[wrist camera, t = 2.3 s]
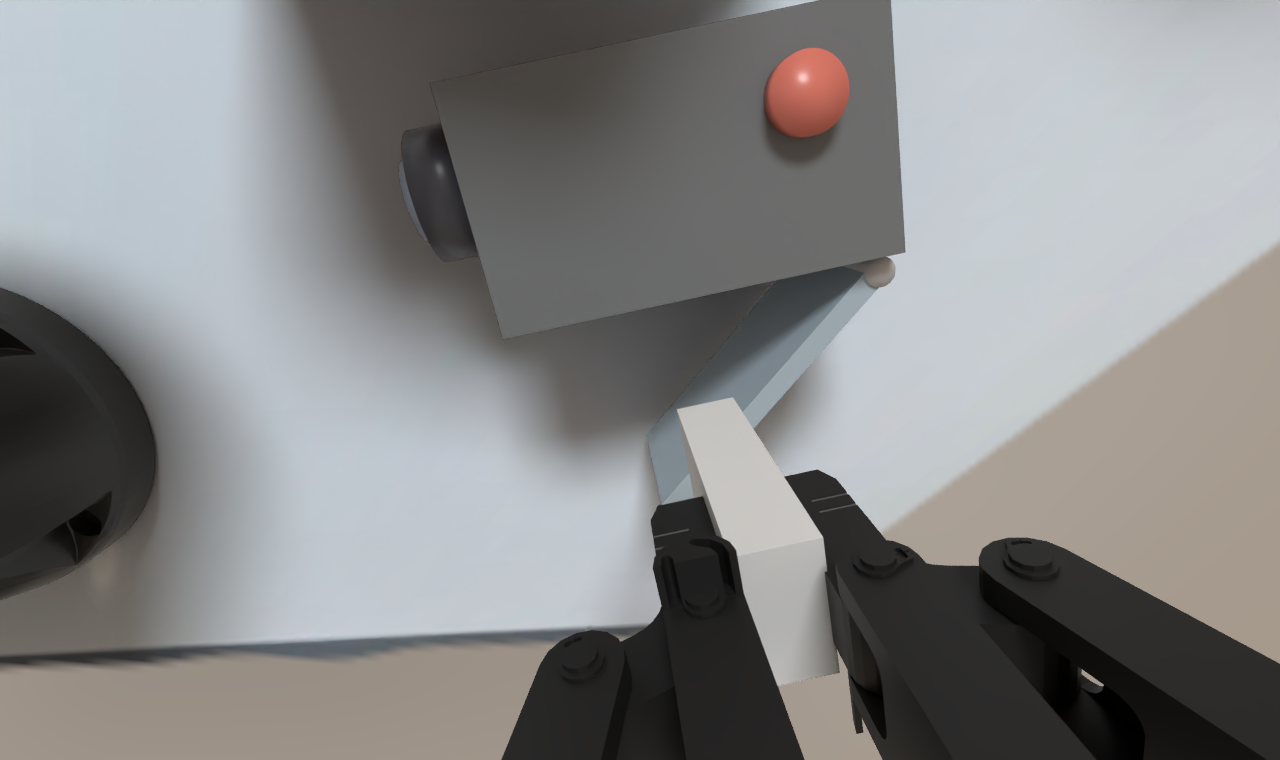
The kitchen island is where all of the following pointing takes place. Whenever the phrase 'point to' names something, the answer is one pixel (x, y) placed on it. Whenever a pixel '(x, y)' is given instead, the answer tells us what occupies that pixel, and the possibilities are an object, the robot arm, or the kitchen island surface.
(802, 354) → the side door
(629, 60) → the camera block
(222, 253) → the kitchen island surface
